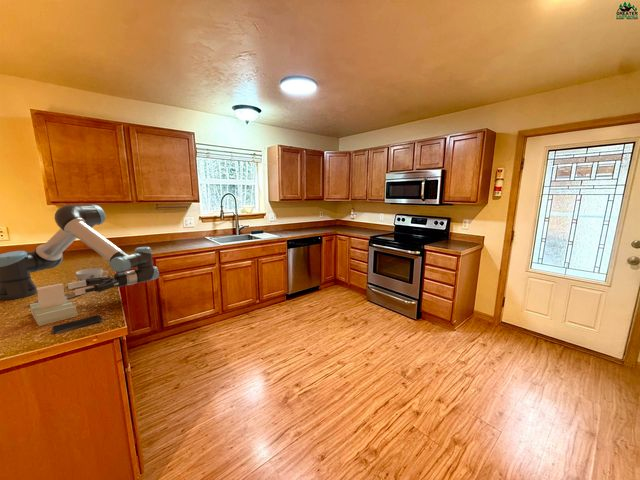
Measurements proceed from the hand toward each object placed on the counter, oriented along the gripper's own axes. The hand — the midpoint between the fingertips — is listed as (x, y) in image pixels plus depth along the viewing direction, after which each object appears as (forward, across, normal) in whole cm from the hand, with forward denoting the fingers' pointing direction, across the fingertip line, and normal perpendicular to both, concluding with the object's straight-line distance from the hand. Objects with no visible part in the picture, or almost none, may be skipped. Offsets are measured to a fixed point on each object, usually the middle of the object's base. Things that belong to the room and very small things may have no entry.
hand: (71, 289), depth 122 cm
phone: (+3, -21, -11) cm, 23 cm away
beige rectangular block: (+7, 0, -9) cm, 11 cm away
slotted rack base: (+7, 0, -10) cm, 12 cm away
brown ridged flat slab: (+2, +24, -11) cm, 27 cm away
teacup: (-17, +44, -10) cm, 48 cm away
